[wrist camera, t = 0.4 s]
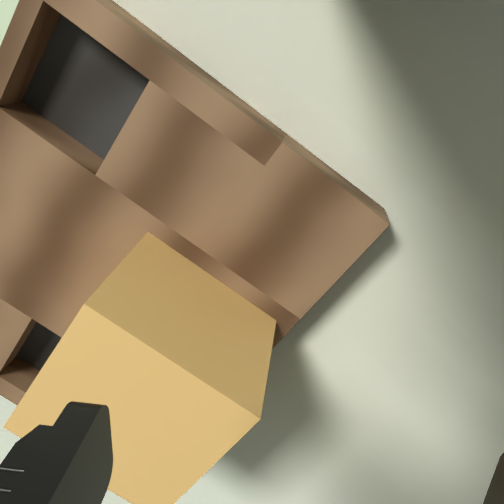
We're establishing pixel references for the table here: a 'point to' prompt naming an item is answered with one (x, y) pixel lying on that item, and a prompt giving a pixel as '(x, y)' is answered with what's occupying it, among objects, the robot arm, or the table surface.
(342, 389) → the table surface
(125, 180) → the board
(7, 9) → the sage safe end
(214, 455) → the ochre block
